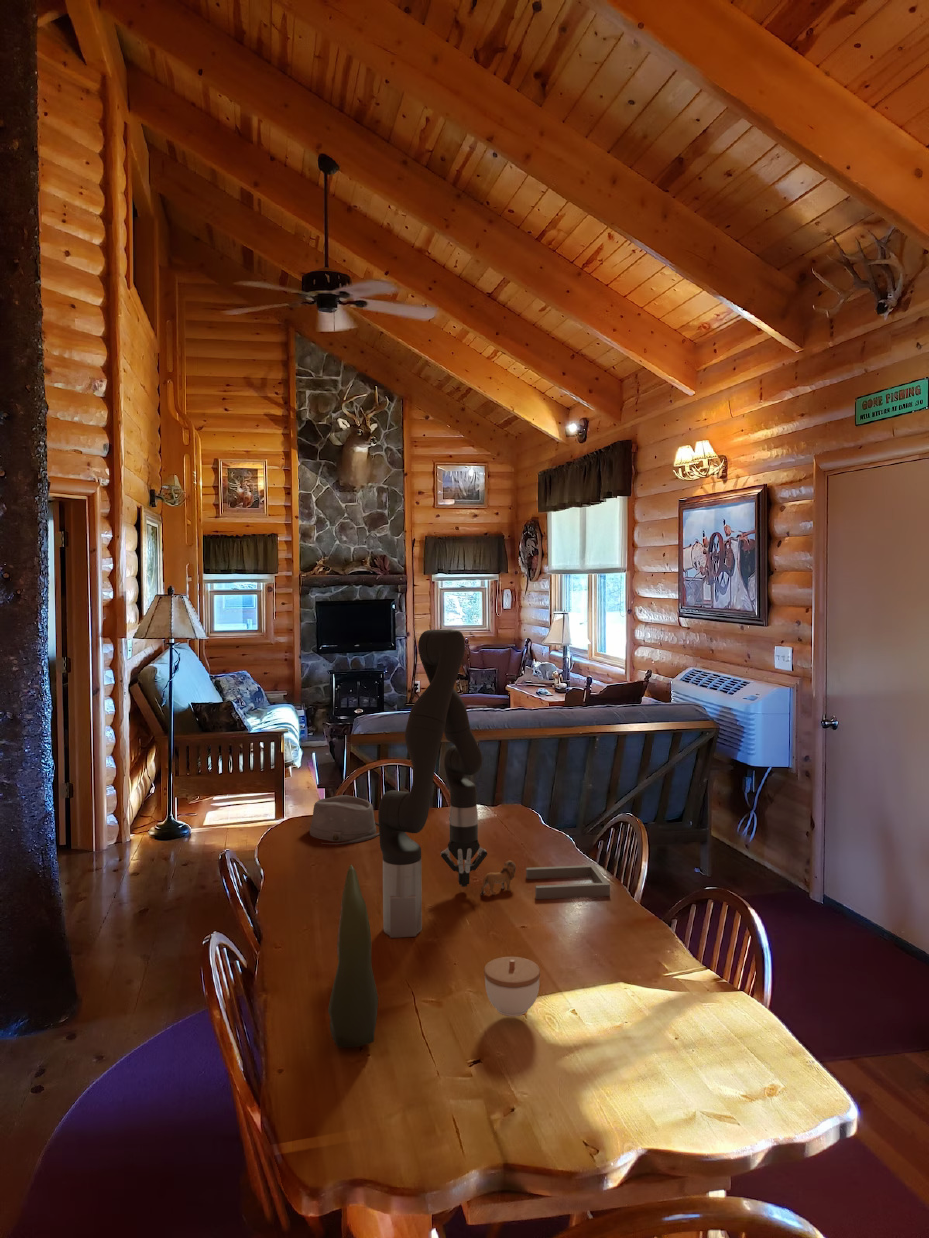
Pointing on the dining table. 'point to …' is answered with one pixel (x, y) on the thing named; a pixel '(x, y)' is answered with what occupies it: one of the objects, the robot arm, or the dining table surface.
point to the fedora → (343, 819)
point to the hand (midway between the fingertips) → (464, 885)
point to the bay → (569, 890)
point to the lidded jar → (512, 984)
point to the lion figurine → (500, 877)
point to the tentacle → (353, 972)
